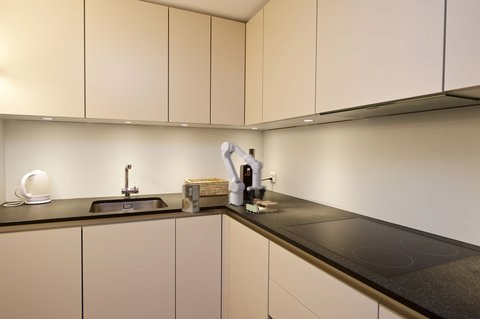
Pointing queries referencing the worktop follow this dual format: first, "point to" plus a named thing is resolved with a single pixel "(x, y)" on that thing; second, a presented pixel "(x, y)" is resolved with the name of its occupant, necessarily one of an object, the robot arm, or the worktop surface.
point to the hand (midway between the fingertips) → (256, 200)
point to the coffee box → (190, 198)
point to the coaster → (256, 200)
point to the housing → (268, 205)
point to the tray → (254, 208)
